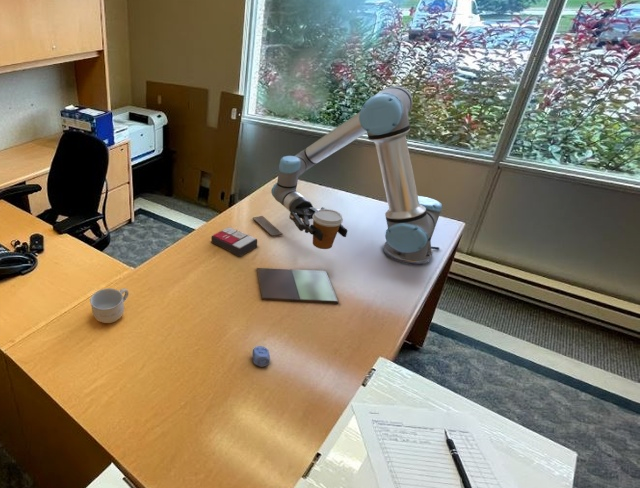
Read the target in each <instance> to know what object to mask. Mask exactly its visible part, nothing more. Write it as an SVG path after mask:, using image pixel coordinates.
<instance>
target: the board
mask: <svg viewBox="0 0 640 488" xmlns="http://www.w3.org/2000/svg"><path fill="white" fill-rule="evenodd" d="M256 273H257V278H258V284H259V290H260V296H261V300H263V301H276V302H277V301H278V302H294V303H295V302H296V303H313V304H328V305H329V304H331V305H338V304H339V300H338V298H337V295H336V293H335V290H334V288H333V285H332V283H331V281H330V279H329V276H328V274H327V271H326V270H313V269H312V270H311V269H292V268H290V269H287V268H270V267H269V268H267V267H266V268H265V267H256Z"/></svg>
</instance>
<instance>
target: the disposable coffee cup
mask: <svg viewBox="0 0 640 488" xmlns="http://www.w3.org/2000/svg"><path fill="white" fill-rule="evenodd" d="M343 222H344V219H343V215H342V214H341V213H340V212H339V211H336V210H333V209H330V208H328V209H327V208H325V209H321V208H320V210H319V209H317V211H316V212H315V213H314V214H313V219H312V224H313V225H314V226H315V227H316V228H317V229H318V230H320V231H321V232H322V233H323V238H322V241H319V240H318V239H317V238H316V237H315V236H314V235H312V246H314V247H316V249H320V250H329V249H331V248H333V245H334V242H335V240H336V238H337V234H338V229H339V227H340V224H343Z"/></svg>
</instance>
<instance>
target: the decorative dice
mask: <svg viewBox="0 0 640 488" xmlns="http://www.w3.org/2000/svg"><path fill="white" fill-rule="evenodd" d="M251 353H252V355H251V356H252V362H253V364H254V365H256V366H257V367H260V368H261V367H266V366H268V365H269V364H270V362H271V357H270V351H269V349H268V348H267V347H265V346H262V345H257V346H255V347H253V349H252V352H251Z"/></svg>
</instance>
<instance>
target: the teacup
mask: <svg viewBox="0 0 640 488" xmlns="http://www.w3.org/2000/svg"><path fill="white" fill-rule="evenodd" d="M129 294H130V293H129V290H128V289H127V288H121V289H120V290H118V289H115V288H103V289H100V290H97V291H96V292H94V293H93V294H92V295H91V297H90V298H89V301H90V307H91V310H92V311H91V312H92V314H93V316H94V318H95V320H97V321H98V322H100V323H103V324H111V323H115V322H116V321H118V320H120V319H121V318H122V316H123V314H124V310H125V305H124V303H125V302H126V300H127V299H128V297H129Z"/></svg>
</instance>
